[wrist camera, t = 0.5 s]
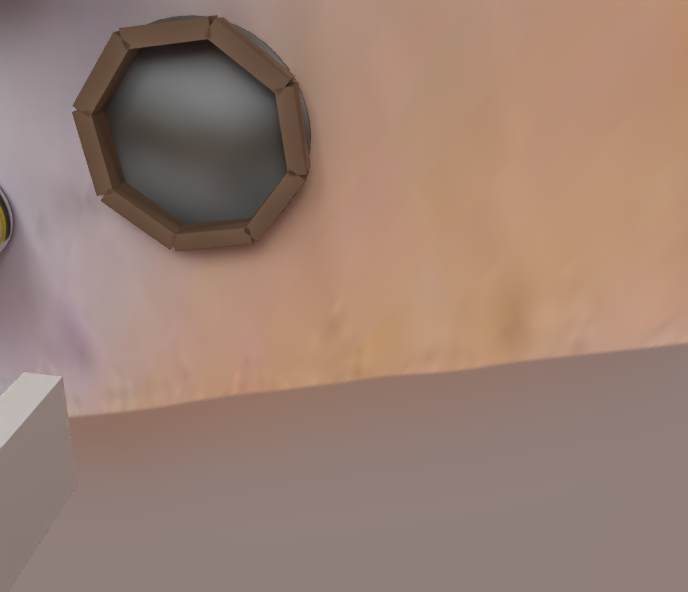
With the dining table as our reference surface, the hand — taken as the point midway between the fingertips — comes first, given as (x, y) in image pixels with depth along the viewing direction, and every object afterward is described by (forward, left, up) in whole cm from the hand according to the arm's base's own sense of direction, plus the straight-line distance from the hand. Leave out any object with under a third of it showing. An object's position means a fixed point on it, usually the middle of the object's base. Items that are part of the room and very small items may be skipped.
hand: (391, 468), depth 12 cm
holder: (-2, -11, -26) cm, 28 cm away
